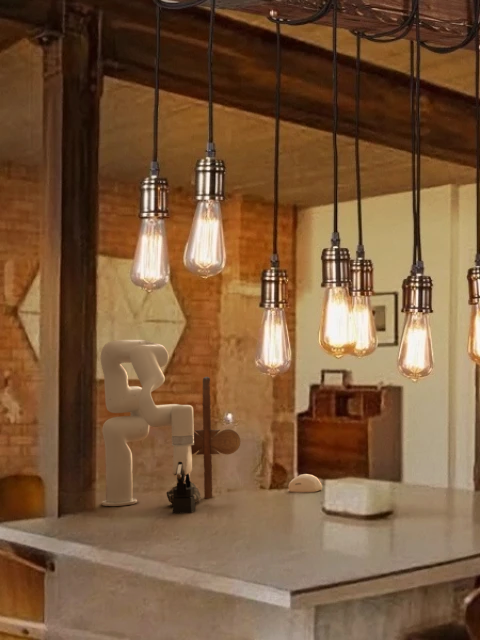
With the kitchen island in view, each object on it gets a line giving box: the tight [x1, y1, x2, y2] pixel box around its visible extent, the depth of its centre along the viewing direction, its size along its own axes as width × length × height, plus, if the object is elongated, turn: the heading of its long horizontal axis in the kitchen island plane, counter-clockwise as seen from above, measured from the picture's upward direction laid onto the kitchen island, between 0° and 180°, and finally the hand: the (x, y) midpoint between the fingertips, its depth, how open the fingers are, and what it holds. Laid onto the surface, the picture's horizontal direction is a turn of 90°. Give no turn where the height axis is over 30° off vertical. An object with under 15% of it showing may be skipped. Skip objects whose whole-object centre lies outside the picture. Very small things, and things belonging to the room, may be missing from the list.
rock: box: [166, 481, 202, 506], centre depth 393 cm, size 18×10×10 cm
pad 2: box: [173, 496, 196, 506], centre depth 374 cm, size 6×6×2 cm
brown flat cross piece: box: [191, 376, 241, 499], centre depth 408 cm, size 25×4×45 cm, turn 81°
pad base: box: [172, 502, 196, 514], centre depth 374 cm, size 6×6×2 cm
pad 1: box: [173, 487, 194, 497], centre depth 374 cm, size 6×6×2 cm
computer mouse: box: [287, 473, 323, 493], centre depth 417 cm, size 6×13×6 cm, turn 75°
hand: (183, 493), depth 374 cm, fingers closed on pad 1, 6 cm apart
